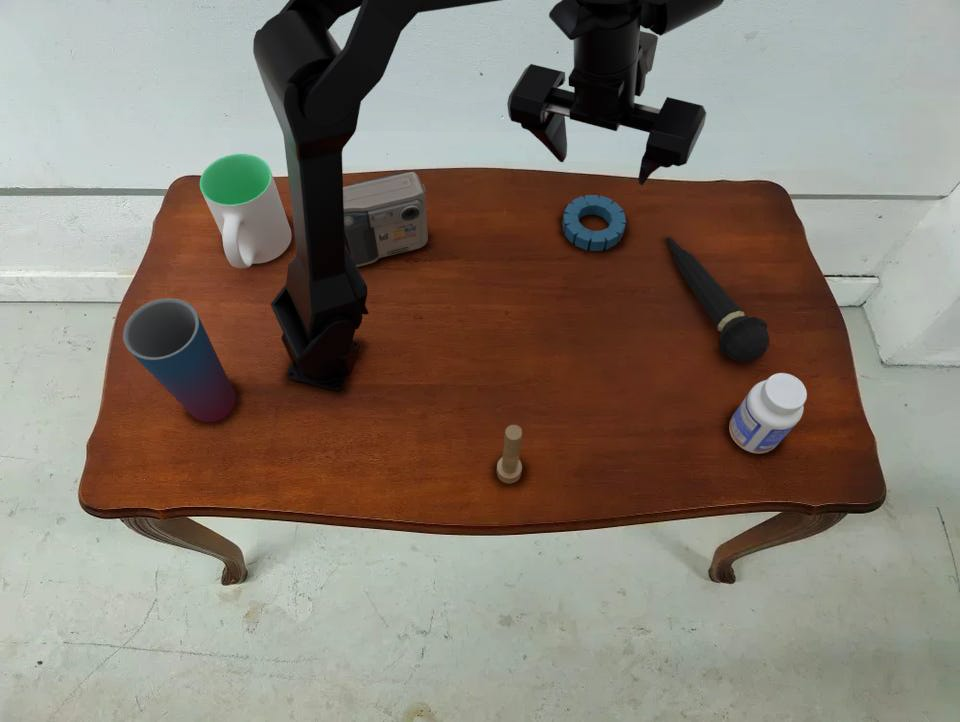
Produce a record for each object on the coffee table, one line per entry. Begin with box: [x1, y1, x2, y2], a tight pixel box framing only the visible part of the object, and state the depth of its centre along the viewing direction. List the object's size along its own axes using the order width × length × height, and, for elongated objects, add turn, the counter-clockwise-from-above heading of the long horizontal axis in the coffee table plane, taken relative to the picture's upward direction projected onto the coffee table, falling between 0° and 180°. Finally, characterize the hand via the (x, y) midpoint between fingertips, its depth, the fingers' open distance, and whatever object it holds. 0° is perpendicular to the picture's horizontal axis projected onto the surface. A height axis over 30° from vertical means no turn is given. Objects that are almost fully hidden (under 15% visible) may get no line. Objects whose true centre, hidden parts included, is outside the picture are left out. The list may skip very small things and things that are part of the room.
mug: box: [199, 153, 292, 269], centre depth 84 cm, size 12×8×10 cm
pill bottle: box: [728, 372, 808, 455], centre depth 73 cm, size 5×5×10 cm
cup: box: [122, 297, 237, 423], centre depth 71 cm, size 7×7×15 cm
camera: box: [343, 171, 429, 268], centre depth 85 cm, size 11×6×10 cm, turn 106°
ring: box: [561, 194, 627, 252], centre depth 90 cm, size 8×8×2 cm
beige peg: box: [496, 424, 523, 484], centre depth 70 cm, size 3×3×10 cm
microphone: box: [665, 237, 770, 363], centre depth 84 cm, size 6×6×20 cm
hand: (602, 170), depth 77 cm, fingers open, 9 cm apart
